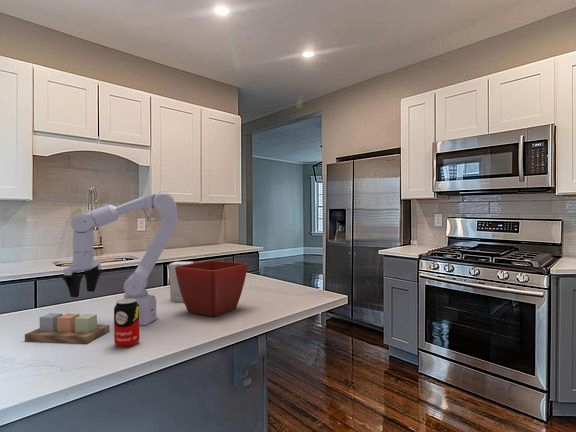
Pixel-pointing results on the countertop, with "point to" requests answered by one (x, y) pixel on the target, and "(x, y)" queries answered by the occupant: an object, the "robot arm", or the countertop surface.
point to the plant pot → (211, 286)
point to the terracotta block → (66, 323)
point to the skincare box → (175, 282)
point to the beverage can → (126, 322)
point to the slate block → (49, 322)
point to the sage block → (85, 323)
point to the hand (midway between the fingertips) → (83, 294)
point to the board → (67, 336)
